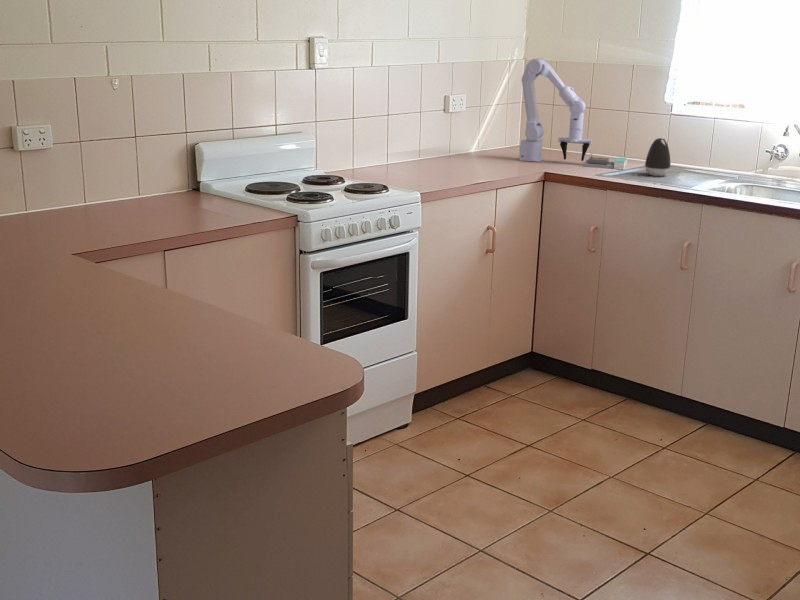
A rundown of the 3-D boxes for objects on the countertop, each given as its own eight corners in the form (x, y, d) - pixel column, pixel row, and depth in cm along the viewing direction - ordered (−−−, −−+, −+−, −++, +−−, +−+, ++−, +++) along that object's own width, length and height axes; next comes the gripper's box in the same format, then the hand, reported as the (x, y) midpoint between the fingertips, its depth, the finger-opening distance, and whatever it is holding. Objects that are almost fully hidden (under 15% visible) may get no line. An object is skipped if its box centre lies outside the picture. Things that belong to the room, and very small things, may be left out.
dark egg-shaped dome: (672, 174, 386) (676, 138, 382) (665, 178, 378) (669, 140, 373) (648, 172, 392) (652, 135, 387) (640, 175, 383) (644, 138, 379)
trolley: (587, 166, 404) (588, 155, 402) (590, 163, 410) (590, 153, 409) (606, 167, 401) (607, 157, 400) (608, 164, 408) (609, 154, 406)
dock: (582, 166, 402) (582, 159, 401) (586, 162, 413) (586, 155, 412) (623, 169, 397) (623, 162, 396) (626, 165, 407) (627, 158, 406)
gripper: (557, 128, 403) (555, 159, 407) (591, 130, 398) (588, 162, 403) (560, 126, 409) (558, 157, 413) (593, 128, 405) (591, 160, 409)
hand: (573, 159), depth 408 cm, fingers open, 7 cm apart
